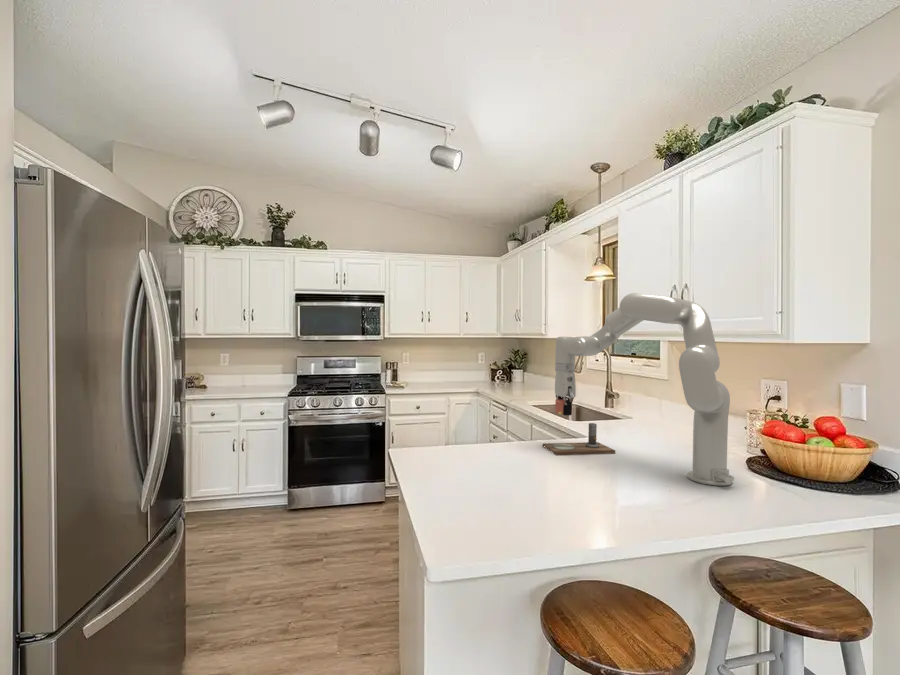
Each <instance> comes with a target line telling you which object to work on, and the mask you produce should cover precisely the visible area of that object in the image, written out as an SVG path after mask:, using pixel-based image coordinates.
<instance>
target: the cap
mask: <svg viewBox="0 0 900 675" xmlns="http://www.w3.org/2000/svg"><path fill="white" fill-rule="evenodd" d="M566 400H568V399H566ZM554 403H555V407H554V408H555V412H554V413H555V414H558V415H563V405H565V404H564V399H556V398H555V402H554Z"/></svg>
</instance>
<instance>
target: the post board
mask: <svg viewBox="0 0 900 675" xmlns="http://www.w3.org/2000/svg"><path fill="white" fill-rule="evenodd" d="M597 428H598V427H597V423H595V422H589V423H588V442H554V443H553V442H552V443H545V442H544V443H542V447H543V446H545V447H546V448H547V449H549V450H550V451H552V452H553V453H554V454H553V453H552V452H551V453H552V454H553V455H555V454H556V455H555V456H572V455H573V456H575V455H577V456H578V455H580V456H581V455H611V454H616V450H615V449H613V448H610V447H609V446H607V445H605V444H602V443H601V442H598V441H597ZM546 448H545V449H546ZM547 449H546V450H547ZM549 450H548V451H549ZM550 451H549V452H550Z"/></svg>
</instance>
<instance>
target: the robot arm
mask: <svg viewBox="0 0 900 675" xmlns="http://www.w3.org/2000/svg"><path fill="white" fill-rule="evenodd" d="M604 319H605V320H604V322H605V323H604V325H603V326H602V327H601V328H600V329H599V330H597V331H595V333H593V334H591V335H589V336H586V335H585V336H557V337H556V339H555V358H554V361H555V362H554V363H555V364H554V366H555V367H554V371H555V379H554V394H555V400H556V399H564V404H565V405H563V414H562V415H563V416H572V414H573V402H574V400H575V397H576V395H577V393H576V392H577V391H576V390H577V389H576V375H575V374H576V373H575V372H576V371H575V370H576V357H591V356H595V355H598V354H600V353H602V352H603V351H604V350H606V349H608V348H609V347H610V346H612V345H613V344H614V343H615V342H616V341H617V340H618V339H619V338H620V337H621V336H622V335H623V334H625V333H626V332H628V331H630V330H631V329H632V328H634V327H636V326H637V325H639V324H640V323H642V322H643V321H647V322H655V323H662V324H671V325H681V327H682V336H683V341H684V346H685V349H684V350H683V352H682V353H681V354H680V357H679V359H678V370H679V374H680V379H681V383H682V390H683V394H684V398H685V401H686V404H687V405H688V406H689V408H691V410H693V411H694V413H693V428H692V470H689V471H688V472H686V477H687V479H689V480H691V481H693V482H695V483H698V484H702V485H703V484H704V485H710V486H720V487H723V486H731V485H732V484H733V481H734V480H735V476H734V475H730V470H729V469H728V433H729V432H728V431H729V428H728V427H729V413H730V403H731V397H730V396H731V395H730V392H729V389H728V387H727V386H726V385H725V384H724V383H722V382H720V381H718V380H717V377H716V372H717V371H718V370H719V368H720V364H721V361H720V357H719V352H718V349H717V345H716V341H715V336H714V333H713V329H712V327H713V326H712V323H711V320H710V317H709V314H708V313H707V311H706V310H705V309H704V308H703V307H702V306H701V305H700V304H699V303H696V302H694V301H690V300H686V299H682V298H676V297H673V296H665V295H663V296H662V295H652V294H644V293H643V294H642V293H636V292H632V293H629V294H626V295H625V296H623V298H622V299H621V300H620V302H619V307H618V308H617V309H615V310H613V311H612V312H610V313H609V314H608V315H607V316H606V317H605V318H604ZM566 399H567V400H566Z"/></svg>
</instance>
